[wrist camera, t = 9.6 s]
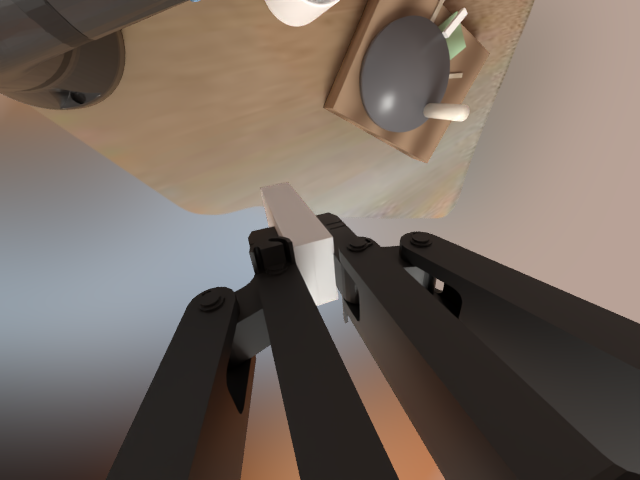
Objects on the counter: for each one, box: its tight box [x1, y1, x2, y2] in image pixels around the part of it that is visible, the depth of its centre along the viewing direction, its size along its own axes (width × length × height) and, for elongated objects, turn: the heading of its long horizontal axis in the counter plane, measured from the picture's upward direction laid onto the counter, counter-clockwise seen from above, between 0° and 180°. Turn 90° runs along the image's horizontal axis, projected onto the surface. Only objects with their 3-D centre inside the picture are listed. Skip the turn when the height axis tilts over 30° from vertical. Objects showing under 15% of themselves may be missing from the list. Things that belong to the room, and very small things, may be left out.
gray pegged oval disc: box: [359, 7, 470, 132], centre depth 35 cm, size 18×14×8 cm
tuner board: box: [324, 0, 490, 163], centre depth 41 cm, size 20×18×4 cm
